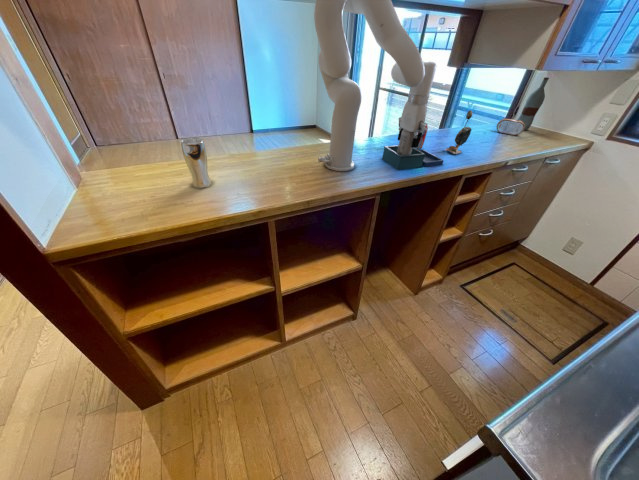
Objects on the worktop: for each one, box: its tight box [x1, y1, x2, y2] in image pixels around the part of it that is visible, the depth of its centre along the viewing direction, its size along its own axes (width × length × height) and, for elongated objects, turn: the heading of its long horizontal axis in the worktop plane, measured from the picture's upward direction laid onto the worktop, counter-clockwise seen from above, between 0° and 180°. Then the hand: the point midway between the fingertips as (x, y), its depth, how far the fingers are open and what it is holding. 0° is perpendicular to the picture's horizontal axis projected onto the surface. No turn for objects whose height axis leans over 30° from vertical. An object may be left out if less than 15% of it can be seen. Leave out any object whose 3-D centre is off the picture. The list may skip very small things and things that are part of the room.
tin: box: [496, 118, 525, 136], centre depth 164 cm, size 15×3×8 cm, turn 58°
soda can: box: [415, 122, 429, 150], centre depth 132 cm, size 7×7×12 cm
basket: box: [381, 144, 426, 171], centre depth 117 cm, size 13×13×6 cm
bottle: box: [516, 76, 550, 132], centre depth 169 cm, size 9×9×30 cm
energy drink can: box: [397, 129, 415, 156], centre depth 114 cm, size 6×6×15 cm
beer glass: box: [180, 137, 212, 189], centre depth 88 cm, size 7×7×15 cm
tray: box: [419, 149, 445, 168], centre depth 122 cm, size 10×14×2 cm
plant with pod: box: [445, 110, 474, 155], centre depth 128 cm, size 8×11×20 cm
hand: (407, 143), depth 113 cm, fingers open, 9 cm apart
